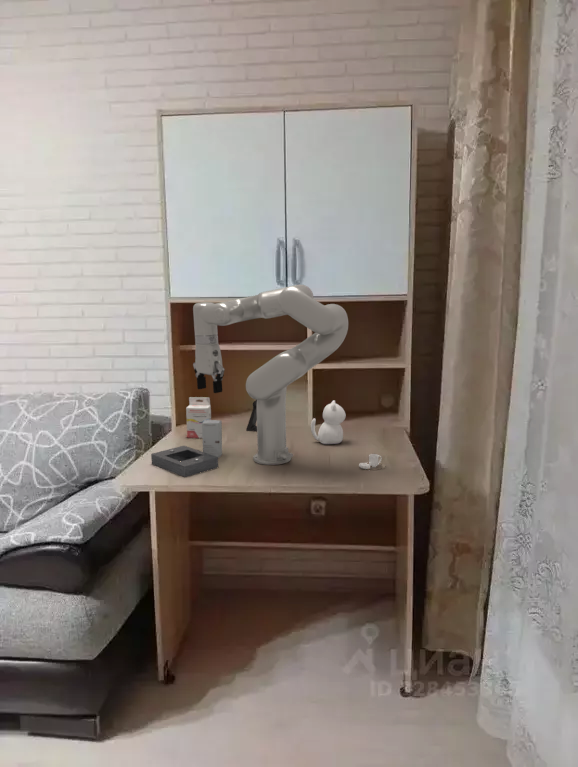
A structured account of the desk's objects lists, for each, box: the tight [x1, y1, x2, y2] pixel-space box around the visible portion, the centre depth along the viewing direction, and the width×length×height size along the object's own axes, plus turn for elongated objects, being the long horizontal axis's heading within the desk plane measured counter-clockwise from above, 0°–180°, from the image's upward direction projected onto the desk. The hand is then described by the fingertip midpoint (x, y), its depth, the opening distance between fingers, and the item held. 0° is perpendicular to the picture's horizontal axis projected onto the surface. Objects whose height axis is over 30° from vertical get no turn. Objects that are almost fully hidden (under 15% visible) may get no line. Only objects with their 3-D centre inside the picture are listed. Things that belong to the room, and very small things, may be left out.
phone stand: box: [246, 399, 257, 432], centre depth 262 cm, size 9×6×12 cm, turn 74°
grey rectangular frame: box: [150, 445, 219, 478], centre depth 221 cm, size 19×13×4 cm
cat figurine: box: [310, 400, 347, 445], centre depth 242 cm, size 9×12×15 cm
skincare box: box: [202, 419, 223, 459], centre depth 230 cm, size 6×4×12 cm
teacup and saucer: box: [358, 453, 383, 470], centre depth 217 cm, size 9×8×4 cm
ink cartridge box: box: [185, 396, 212, 439], centre depth 254 cm, size 9×5×15 cm, turn 84°
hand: (209, 390), depth 228 cm, fingers open, 9 cm apart
